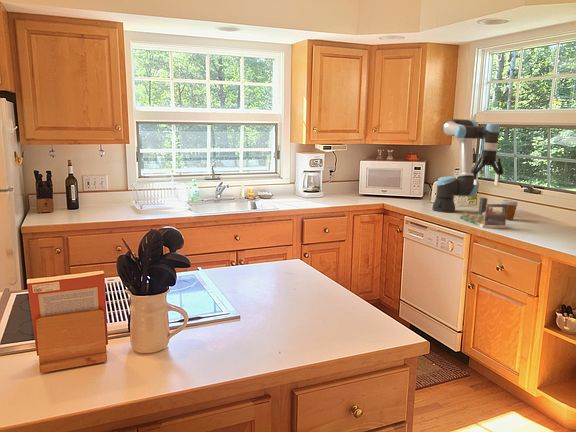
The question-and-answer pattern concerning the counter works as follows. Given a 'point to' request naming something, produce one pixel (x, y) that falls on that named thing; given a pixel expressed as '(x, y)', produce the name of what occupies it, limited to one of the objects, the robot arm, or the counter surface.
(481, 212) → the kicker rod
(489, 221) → the pitch
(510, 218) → the disposable coffee cup
